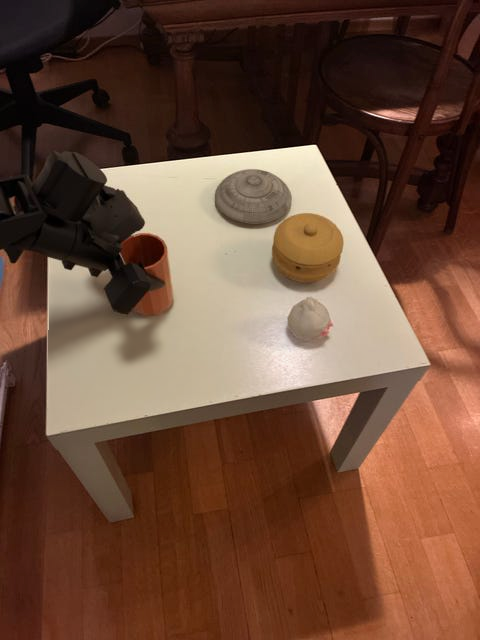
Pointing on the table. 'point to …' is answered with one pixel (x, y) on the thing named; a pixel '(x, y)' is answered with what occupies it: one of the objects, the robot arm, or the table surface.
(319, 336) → the figurine
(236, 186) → the flying saucer
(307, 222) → the pot
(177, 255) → the table surface
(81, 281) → the table surface
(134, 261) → the tumbler
